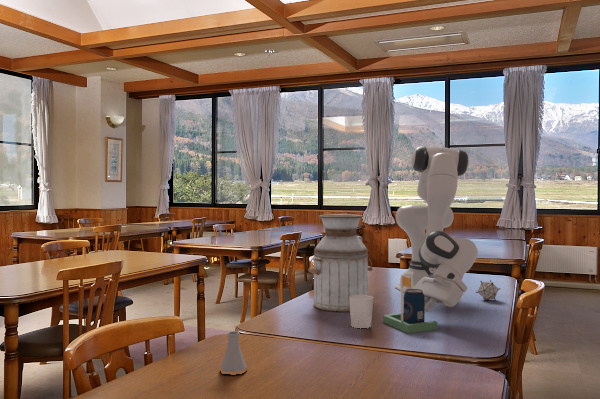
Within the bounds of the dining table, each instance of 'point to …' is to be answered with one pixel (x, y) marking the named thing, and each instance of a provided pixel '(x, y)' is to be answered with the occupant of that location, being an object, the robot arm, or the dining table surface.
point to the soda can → (414, 306)
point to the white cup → (361, 310)
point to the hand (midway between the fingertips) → (422, 309)
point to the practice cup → (398, 318)
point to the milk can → (339, 264)
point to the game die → (488, 290)
